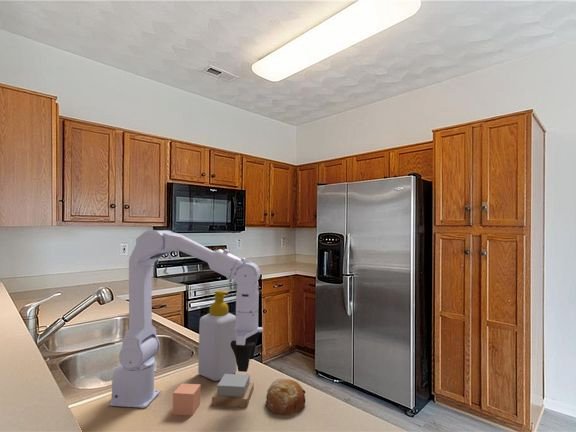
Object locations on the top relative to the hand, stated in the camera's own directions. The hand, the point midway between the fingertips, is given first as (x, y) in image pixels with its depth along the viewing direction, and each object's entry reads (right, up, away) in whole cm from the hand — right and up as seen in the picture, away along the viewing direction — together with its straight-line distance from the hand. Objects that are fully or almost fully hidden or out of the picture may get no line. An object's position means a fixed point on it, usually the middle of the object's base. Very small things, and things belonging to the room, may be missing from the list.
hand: (246, 364), depth 83 cm
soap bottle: (-11, -11, +18) cm, 24 cm away
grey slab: (-4, -8, +4) cm, 10 cm away
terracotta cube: (-14, -10, -2) cm, 18 cm away
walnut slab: (-4, -11, +4) cm, 12 cm away
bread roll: (+10, -11, +1) cm, 15 cm away
